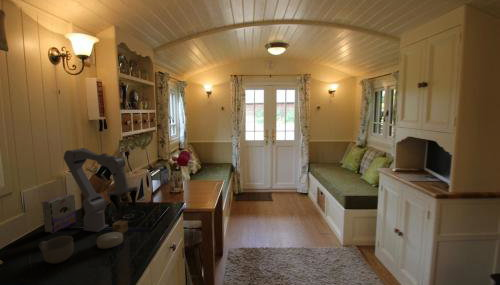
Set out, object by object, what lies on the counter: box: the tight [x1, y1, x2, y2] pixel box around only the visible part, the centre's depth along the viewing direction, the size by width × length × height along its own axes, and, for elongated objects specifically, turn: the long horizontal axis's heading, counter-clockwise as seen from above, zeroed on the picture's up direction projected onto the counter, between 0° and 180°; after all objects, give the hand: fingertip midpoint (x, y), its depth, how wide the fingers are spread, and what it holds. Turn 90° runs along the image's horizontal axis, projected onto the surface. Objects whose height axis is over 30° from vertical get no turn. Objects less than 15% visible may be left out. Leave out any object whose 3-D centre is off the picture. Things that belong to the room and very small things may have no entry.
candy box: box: [41, 193, 78, 234], centre depth 142 cm, size 14×6×16 cm, turn 164°
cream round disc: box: [96, 231, 124, 249], centre depth 126 cm, size 11×11×3 cm
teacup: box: [38, 235, 75, 265], centre depth 112 cm, size 14×11×8 cm
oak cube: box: [112, 220, 129, 234], centre depth 137 cm, size 5×5×5 cm
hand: (126, 207), depth 135 cm, fingers open, 7 cm apart
